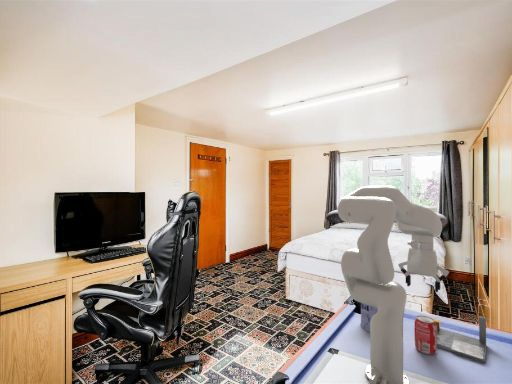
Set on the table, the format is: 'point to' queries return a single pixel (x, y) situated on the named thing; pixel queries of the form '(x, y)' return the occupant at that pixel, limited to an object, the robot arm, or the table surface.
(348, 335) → the table surface
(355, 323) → the table surface
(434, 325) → the soda can
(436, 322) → the ram
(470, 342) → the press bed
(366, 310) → the aerosol can
